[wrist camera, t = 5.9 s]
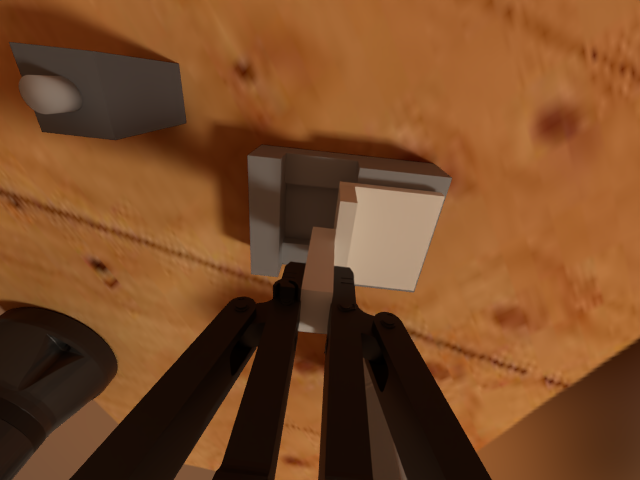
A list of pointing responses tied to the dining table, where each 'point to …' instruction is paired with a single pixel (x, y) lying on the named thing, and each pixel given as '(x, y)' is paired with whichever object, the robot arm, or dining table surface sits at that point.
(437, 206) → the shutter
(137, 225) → the dining table surface
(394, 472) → the skincare box
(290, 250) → the socket
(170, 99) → the plug
